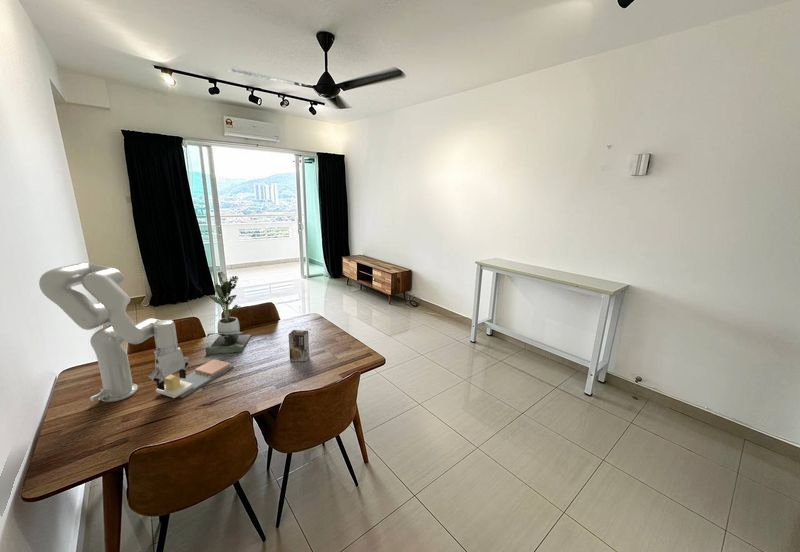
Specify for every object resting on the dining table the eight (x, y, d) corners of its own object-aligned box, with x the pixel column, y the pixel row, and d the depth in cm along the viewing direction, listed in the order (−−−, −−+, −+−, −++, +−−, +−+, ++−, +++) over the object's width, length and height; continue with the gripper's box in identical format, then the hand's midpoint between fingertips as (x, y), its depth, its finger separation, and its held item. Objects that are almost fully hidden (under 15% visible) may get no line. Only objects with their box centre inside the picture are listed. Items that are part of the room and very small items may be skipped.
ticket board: (182, 397, 139) (181, 392, 138) (161, 391, 143) (160, 385, 142) (233, 367, 165) (233, 362, 164) (214, 362, 169) (214, 357, 168)
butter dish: (174, 398, 137) (172, 384, 135) (156, 392, 140) (154, 379, 138) (193, 386, 145) (191, 374, 143) (176, 381, 148) (174, 369, 147)
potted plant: (242, 352, 181) (236, 276, 170) (206, 354, 177) (197, 277, 166) (251, 336, 202) (246, 268, 191) (218, 337, 198) (211, 268, 187)
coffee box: (309, 357, 179) (308, 330, 175) (305, 362, 173) (304, 335, 169) (294, 355, 180) (293, 329, 176) (289, 361, 174) (288, 334, 170)
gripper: (152, 359, 128) (158, 396, 132) (192, 341, 144) (196, 375, 148) (139, 355, 130) (146, 392, 134) (180, 338, 146) (184, 372, 150)
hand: (172, 383), depth 141 cm, fingers open, 9 cm apart
